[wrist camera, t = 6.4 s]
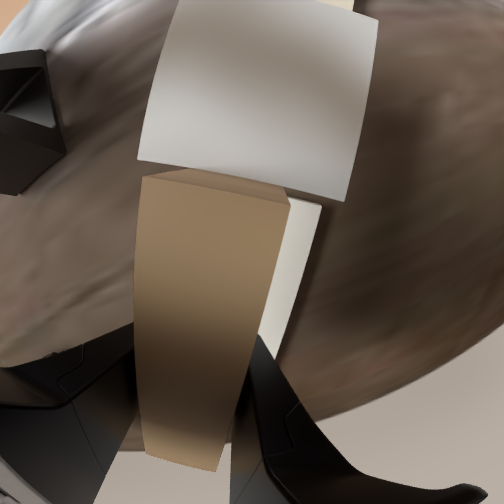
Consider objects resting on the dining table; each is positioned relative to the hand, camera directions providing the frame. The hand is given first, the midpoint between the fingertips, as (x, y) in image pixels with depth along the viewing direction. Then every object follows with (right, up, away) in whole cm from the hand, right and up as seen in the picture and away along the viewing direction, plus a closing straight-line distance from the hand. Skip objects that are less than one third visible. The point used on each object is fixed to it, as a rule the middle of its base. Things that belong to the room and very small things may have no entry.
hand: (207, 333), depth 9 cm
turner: (+1, +4, 0) cm, 4 cm away
